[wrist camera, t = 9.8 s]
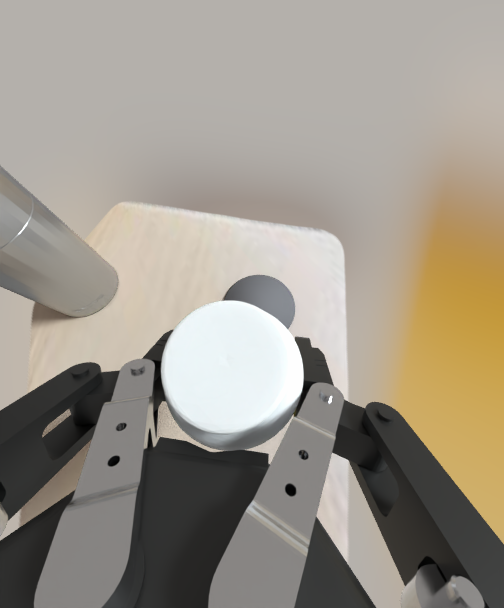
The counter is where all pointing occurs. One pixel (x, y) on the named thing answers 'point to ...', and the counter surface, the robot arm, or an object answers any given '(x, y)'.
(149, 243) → the counter surface
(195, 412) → the supplement bottle
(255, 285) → the resting mat
